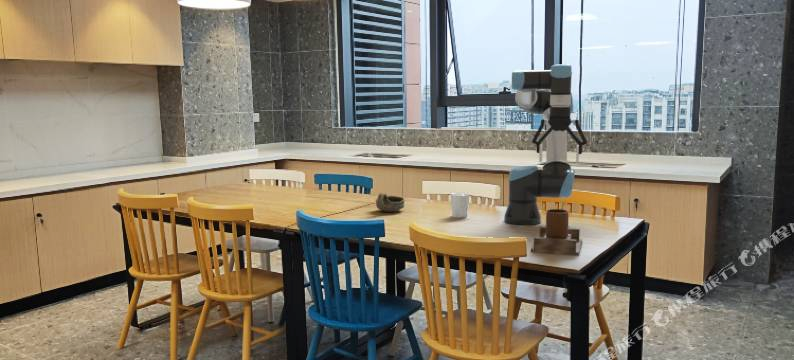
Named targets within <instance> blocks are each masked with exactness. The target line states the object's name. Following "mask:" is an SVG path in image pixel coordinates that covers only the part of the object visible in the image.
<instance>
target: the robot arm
mask: <svg viewBox="0 0 794 360" xmlns="http://www.w3.org/2000/svg"><path fill="white" fill-rule="evenodd" d="M572 74H573V71H572V65H571V64H553V65H551V67H550V69H542V70H540V69H538V70H535V69H534V70H533V69H530V70H522V69H520V70H513V71H512V72H511V89H512V90H514V91H516V93H515V96H514V98H515V104H516V105H517V107H519V109H521V110H523V112H527V113H530V114H534V115H542V119H541V120H540V125H539V127H538V129H537V131H536V133H535V135H534V136H533V138H532V140H531V143H532V144H535V145H536V153H537V154H538V157H539V161H538V162H539V163H542V162H543V144H542V142H544V140H545V139H546V141H545V145H546V146H545V148H546V149H545V150H546V154H545V158H546V161H545V163H544V164H543V166H542V169H539V167H538V166H537V165H524V166H518V167H514V168H511V169H510V170H509V175H508V177H509V178H508V184H509V185H508V205H507V208H506V210H505V213H504V222H505V223H508V224H512V225H520V226H521V225H524V226H525V225H526V226H527V225H529V226H531V225H536V224H541V222H542V219H541V218H542V216H541V212H540V210H539V207H538V198H551V199H552V198H557V199H558V198H559V199H563V198H564V199H565V198H567V199H568V198H570V197H572V194H573V189H574V188H573V187H574V181H575V173H576V172H575V169H572V167H571V164H570V163H568V153H567V152H568V145H567V143H568V142H567V141H568V140H567V139H568V138H567V133H568V134H569V135H570V136H571V138H572V139H573V140H574V141H575V143H577V145H576V152H575V153H576V154H575V155H576V156H575V160H576V161H575V163H576V164H579V161H580V160H579V159H580V155H582V154H583V145H587V144H588V140H587V138H586V136H585V133H584V131H583V130H582V128H581V125H580V120H579V118H576V119H571V114H573V112H574V101H573V100H574V99H573V93H572ZM571 124H573V126H575V127H576V131H577V132H578V134H579V136H580V138H581V139H579V137H578V136H577V135H576V134H575V133H574V131H573V130H572V128H571V127H570V126H571ZM544 126H546V127H545V129H546V132H545V133H544V134H543V135H542V136H541V137H540V135H541V133H542V131H543V129H544ZM539 137H540V139H539V140H538V138H539Z"/></svg>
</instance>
